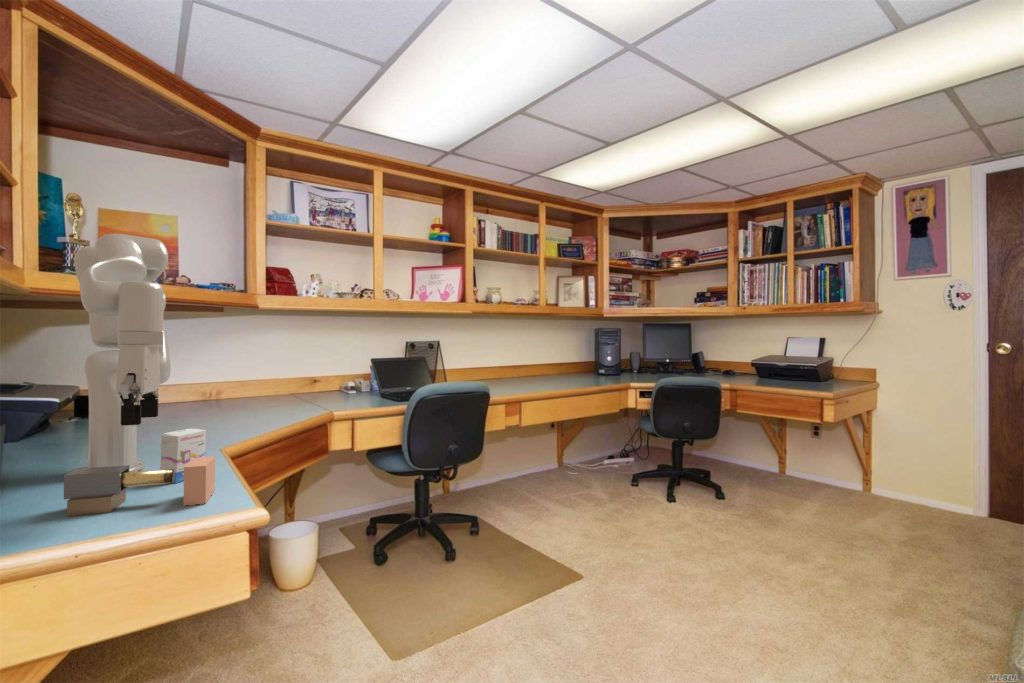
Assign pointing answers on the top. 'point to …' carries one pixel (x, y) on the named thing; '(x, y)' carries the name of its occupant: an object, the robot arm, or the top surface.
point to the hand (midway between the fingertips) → (140, 420)
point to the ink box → (181, 450)
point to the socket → (199, 480)
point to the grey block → (94, 490)
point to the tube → (147, 477)
